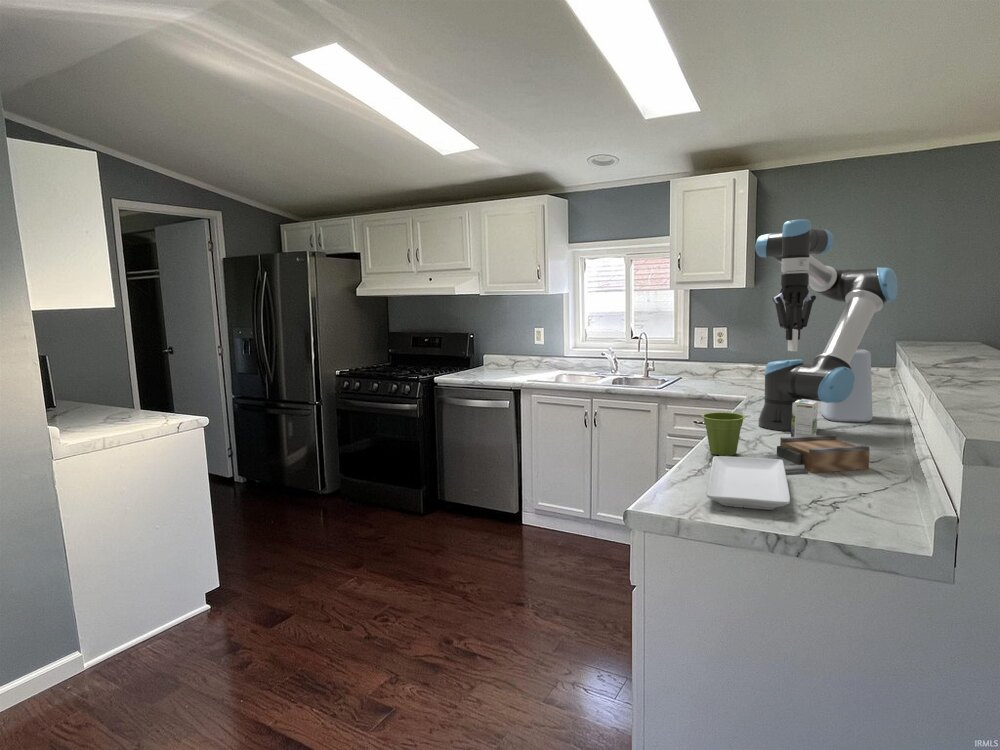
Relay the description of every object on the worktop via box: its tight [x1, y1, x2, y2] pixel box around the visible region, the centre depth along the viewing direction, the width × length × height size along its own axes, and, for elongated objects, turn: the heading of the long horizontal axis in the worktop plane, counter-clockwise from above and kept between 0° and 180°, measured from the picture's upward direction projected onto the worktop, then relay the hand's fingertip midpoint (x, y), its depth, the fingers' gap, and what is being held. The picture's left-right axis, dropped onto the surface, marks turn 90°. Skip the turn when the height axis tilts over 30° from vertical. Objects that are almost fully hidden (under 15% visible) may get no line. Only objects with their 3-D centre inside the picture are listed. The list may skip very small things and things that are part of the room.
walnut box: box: [779, 434, 870, 474], centre depth 161 cm, size 16×14×6 cm
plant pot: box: [701, 411, 746, 457], centre depth 174 cm, size 12×12×11 cm
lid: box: [740, 445, 805, 471], centre depth 160 cm, size 13×11×4 cm
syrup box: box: [790, 399, 819, 437], centre depth 176 cm, size 6×6×14 cm
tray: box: [705, 455, 791, 511], centre depth 141 cm, size 17×31×4 cm, turn 158°
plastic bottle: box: [820, 346, 874, 423], centre depth 216 cm, size 15×15×28 cm
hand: (792, 350), depth 183 cm, fingers closed
